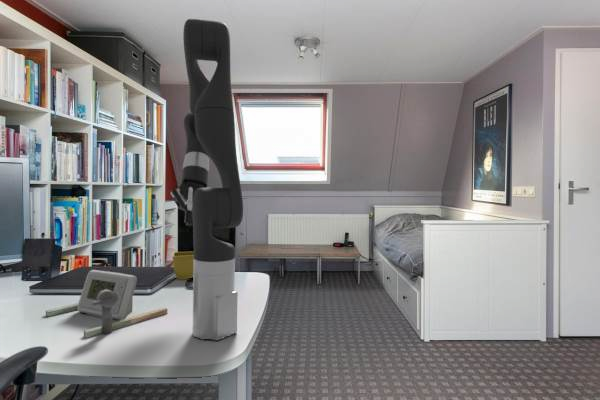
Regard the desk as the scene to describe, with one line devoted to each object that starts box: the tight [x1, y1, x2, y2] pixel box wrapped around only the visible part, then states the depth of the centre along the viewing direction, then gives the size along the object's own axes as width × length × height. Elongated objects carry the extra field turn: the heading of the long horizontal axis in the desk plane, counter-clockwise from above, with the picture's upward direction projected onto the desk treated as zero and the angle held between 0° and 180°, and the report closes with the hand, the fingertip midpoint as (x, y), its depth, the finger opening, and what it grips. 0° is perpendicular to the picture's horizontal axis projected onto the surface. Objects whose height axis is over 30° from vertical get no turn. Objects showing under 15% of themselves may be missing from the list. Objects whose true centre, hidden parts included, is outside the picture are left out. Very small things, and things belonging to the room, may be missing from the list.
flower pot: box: [172, 251, 194, 281], centre depth 133 cm, size 9×9×9 cm
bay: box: [45, 289, 169, 339], centre depth 93 cm, size 24×20×10 cm
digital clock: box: [77, 269, 138, 321], centre depth 95 cm, size 16×9×11 cm, turn 58°
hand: (189, 224), depth 103 cm, fingers closed
